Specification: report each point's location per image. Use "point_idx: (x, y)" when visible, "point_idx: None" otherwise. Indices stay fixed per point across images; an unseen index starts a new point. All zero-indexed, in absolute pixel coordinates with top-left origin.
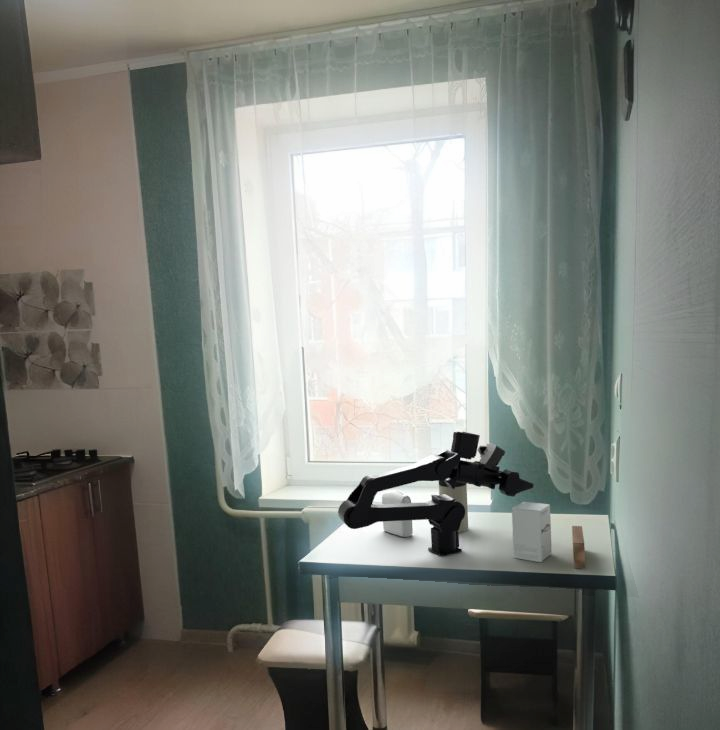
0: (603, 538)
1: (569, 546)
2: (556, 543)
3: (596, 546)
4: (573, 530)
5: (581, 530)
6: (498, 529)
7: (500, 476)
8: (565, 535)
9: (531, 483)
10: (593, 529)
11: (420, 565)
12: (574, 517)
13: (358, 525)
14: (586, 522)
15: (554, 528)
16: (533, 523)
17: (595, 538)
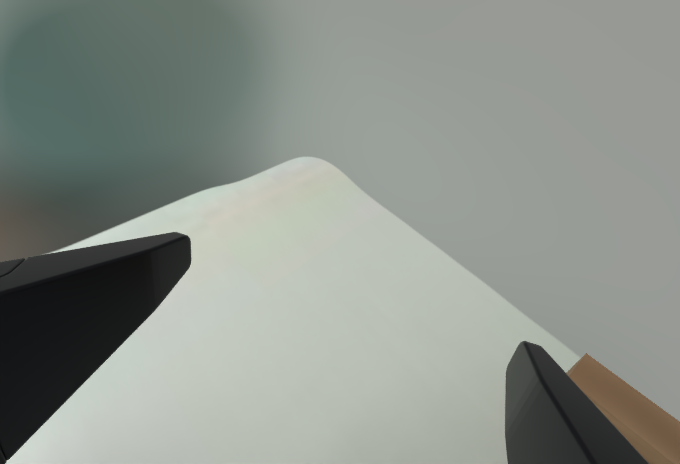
0: (459, 268)
1: (481, 402)
2: (426, 408)
3: (518, 338)
4: (658, 445)
5: (663, 414)
6: (106, 432)
7: (7, 362)
8: (373, 311)
9: (558, 370)
10: (380, 228)
11: None
12: (275, 185)
13: None
14: (326, 198)
15: (296, 277)
16: None
17: (448, 280)
